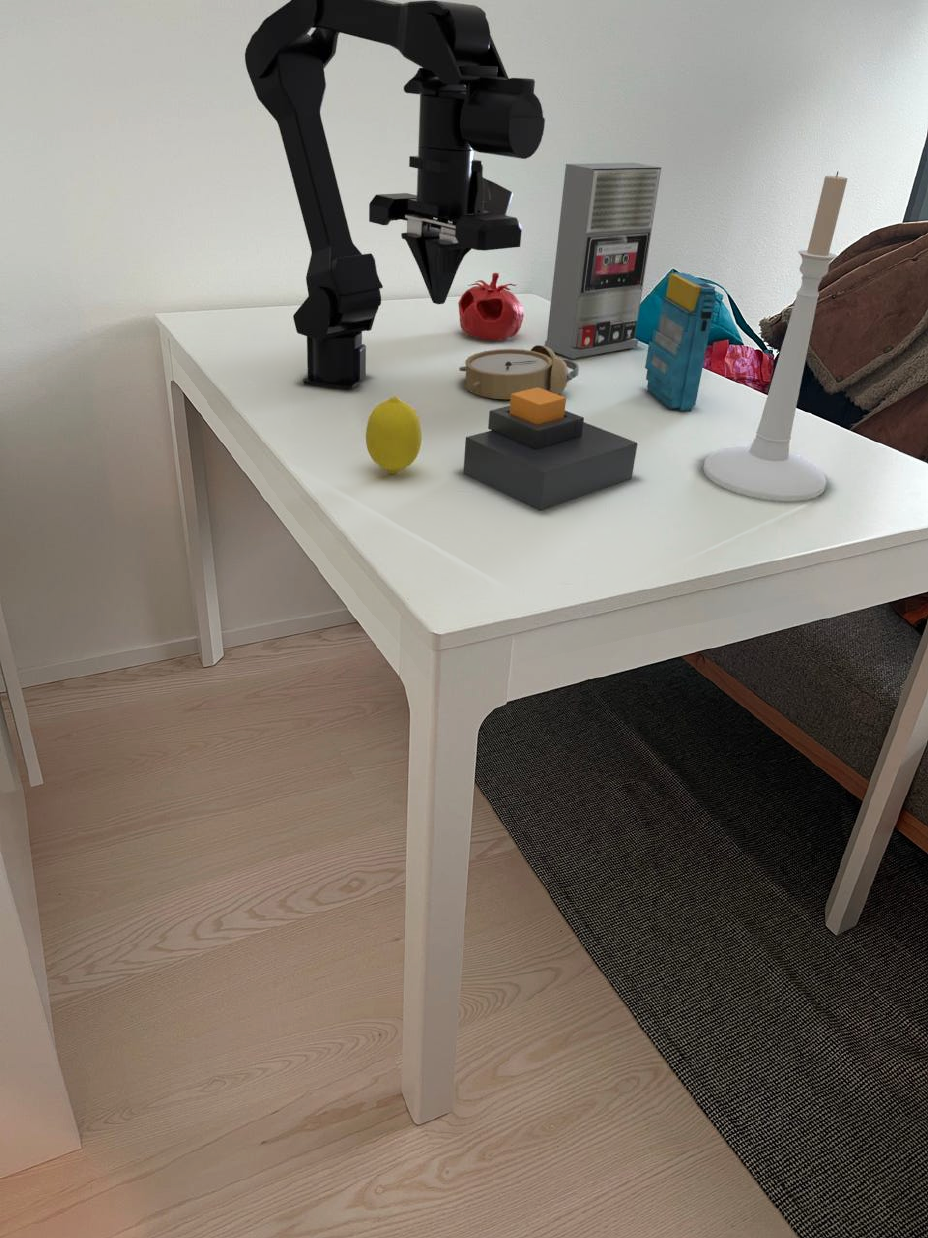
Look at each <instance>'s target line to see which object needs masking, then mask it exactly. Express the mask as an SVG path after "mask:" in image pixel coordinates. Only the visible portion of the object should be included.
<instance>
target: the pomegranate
mask: <svg viewBox="0 0 928 1238" xmlns="http://www.w3.org/2000/svg"><path fill="white" fill-rule="evenodd" d="M499 277H500V273H499V272H493V273H492V275H491V281H490V283H489V284H488V283H487V282H486V281H484V280H482V279H481V280H480V279H479V280H477V281H475V282H474V283H471V284H467V286H468V287H469V286H471V287H470V288H468V289H467V290H465V292H464V293H463V294H462V295H461V297H460V299H459V300H458V302H457V304H458V313H459V326H460V328H461V330H462V331H463V332H464V333H465V334H466V335H467V336H470V337H474V338H478V339H480V340H485V341H506V340H508V339H510V338H512V337H514V336H515V335H516V334H517V333H519V331H520V329H521V328H522V325H523V321H524V316H525V314H524V313H525V312H524V308H523V305H522V304H521V302H520V301H519V299H518V297H517V296H516V295H515V294H514V293H512V292H511V288H509V287H508V286H514V287H516V286H517V284H513V283H507V284H503V285H502V284H501V285H498V279H499ZM479 282H480V283H479Z"/></svg>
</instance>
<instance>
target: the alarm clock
mask: <svg viewBox="0 0 928 1238" xmlns="http://www.w3.org/2000/svg"><path fill="white" fill-rule="evenodd" d="M464 363H465V366H460V367H459V371H461V372H465V387H466V389H467V390H468V391H469V392H470V393H472V394H474V395H476V396H480V397H484V398H489V399H495V400H497V399H498V400H511V394H512V393H516V392H521V391H525V390H529V389H533V388H537V387H538V388H541V389H544V390H547V391H549V392H552V393H555V394H557V395H560V394H561V393H562V394H563V392H564V391H565V390H566V387H567V386H568V383H569V382H570V381H573V379H575V378H576V377H578V376H579V370H580V369H579V368H580V367H579V364H578V363H577V362H575V361H573V360H572V359H567V358H566V359H565V358H560V357H557V355H556V354H555V352H554V351H552V350H551V349H550V348H549V347H547V346H545V345H541V344H538V345H534V346H533V347H532V348H531V349H529V350H528V349H519V348H517V349H516V348H502V349H501V348H499V349H498V348H497V349H491V350H485V351H480V352H477V353H474V354H471V355H470V356H468V357H467V358H466V360H465V362H464ZM569 369H571V371H569Z"/></svg>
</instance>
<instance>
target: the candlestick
mask: <svg viewBox="0 0 928 1238" xmlns="http://www.w3.org/2000/svg"><path fill="white" fill-rule="evenodd" d="M847 183H848V178H847V177H844V176H839V171H836V175H825V176H824V180H823V185H822V187H821V193H820V196H819V200H818V205H817V209H816V213H815V217H814V221H813V226H812V229H811V233H810V238H809V242H808V247H807V249H801V250H798V251H797V253H798V254H799V255H800V257H801V263H800V266H799V272H800V273H801V275H802V276H801V286H800V288H798V290H797V292H796V297H795V300H794V303H793V307H792V310H791V314H790V317H789V321H788V323H787V324H788V325H787V328H786V331H785V334H784V338H783V341H782V345H781V349H780V351H779V356H778V359H777V362H776V366H775V369H774V372H773V376H772V380H771V383H770V386H769V389H768V393H767V397H766V400H765V403H764V407H763V410H762V414H761V417H760V421H759V423H758V427H757V431H755V438H754V439H753V442H752V444H739V445H731V446H727V447H724V448H721V449H719V450H716V451H714V452H713V453H710V454H709V455H708V456H706V458H705V460H704V463H703V466H702V467H703V468H702V469H703V470H702V471H703V473H704V475H705V476H706V477H707V478H708V479H709V480H711V482H713V483H715V484H716V485H718V486H720V487H722V488H724V489H726V490H729V491H731V492H734V493H737V494H739V495H743V496H746V497H751V498H755V499H761V500H767V501H768V500H769V501H775V502H801V501H806V500H807V501H808V500H811V499H814V498H818V497H819V496H821V495H822V494H823V493H824V492H825V489H826V487H827V479H826V476H825V475H824V474H823V472H822V471H821V469H819V468H818V467H817V466H816V465H815V464H814V463H813V462H812V461H809V460H808V459H806V458H805V457H803V456H801V455H799V454H796V453H794V452H793V451H790V440H791V439H792V436H791V435H792V432H793V431H792V430H793V425H794V421H795V414H796V409H797V404H798V401H799V396H800V389H801V385H802V379H803V375H804V369H805V365H806V359H807V354H808V350H809V344H810V338H811V334H812V329H813V323H814V319H815V314H816V309H817V305H818V304H817V303H818V299H819V297H820V293H819V286H820V283H821V282H822V278H824V277H825V276H827V275H828V273H829V266H830V263H831V262H832V261H833V260H835V259H836V258H837V257H838V255H837V254H836V253H832V252H830V250H831V246H832V243H833V239H834V235H835V231H836V230H835V229H836V227H837V224H838V223H837V222H838V220H839V215H840V211H841V207H842V203H843V198H844V194H845V190H846V186H847Z"/></svg>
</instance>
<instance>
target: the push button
mask: <svg viewBox="0 0 928 1238" xmlns="http://www.w3.org/2000/svg"><path fill="white" fill-rule="evenodd" d="M509 412H510V405H506V406H502V407H499V408H494V409H491V410H489V414H488V425H487V428H488V431H484V432H481V433H476V434H473V435H469V436H466V437H465V441H464V443H465V444H464V455H463V457H464V458H463V470H462V471H463V473H462V474H463V475H465V476H466V477H469V478H471V479H473V480H475V481H477V482H479V483H481V484H483V485H485V486H488V487H489V488H492V489H494V490H495V491H498V492H500V493H502V494H504V495H506V496H509V497H510V498H513V499H514V500H517V501H519V502H521V503H523V504H525V505H527V506H529V507H531V508H533V509H535V510H537V511H539V512H541V511H544V510H547V509H550V508H552V507H556V506H558V505H562V504H565V503H566V502H570V501H573V500H575V499H578V498H581V497H584V496H587V495H589V494H592V493H596V492H598V491H601V490H604V489H607V488H610V487H613V486H615V485H618V484H621V483H624V482H626V481H630V480H632V479H633V473H634V467H635V461H636V455H637V450H638V442H636V441H635V440H632V439H629V438H626V437H624V436H621V435H619V434H616V433H613V432H610V431H608V430H605V429H603V428H601V427H597V426H595V425H592V424H590V423H587V422H584V420H585V417H583V416H581V415H578V414H576V413H574V412H571V411H567V410H565V412H564V418H561V419H557V420H554V421H550V422H546V423H543V424H539V425H536V424H534V423H532V422H529V421H527V420H524V419H522V418H519V417H517V416H514V415H512V414H509Z"/></svg>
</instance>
